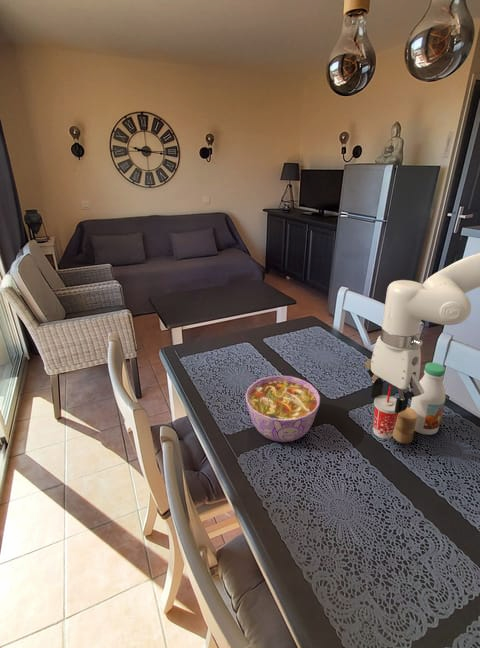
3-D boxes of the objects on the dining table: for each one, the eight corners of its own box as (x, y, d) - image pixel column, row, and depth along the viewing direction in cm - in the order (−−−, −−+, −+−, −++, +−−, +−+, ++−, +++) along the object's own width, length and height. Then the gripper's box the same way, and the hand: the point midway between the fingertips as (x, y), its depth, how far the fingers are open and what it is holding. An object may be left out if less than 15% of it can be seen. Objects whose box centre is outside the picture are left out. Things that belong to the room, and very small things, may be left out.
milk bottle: (409, 435, 98) (422, 373, 90) (404, 417, 105) (416, 357, 97) (440, 439, 96) (456, 376, 88) (433, 420, 103) (447, 360, 95)
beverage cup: (401, 435, 89) (410, 388, 83) (383, 444, 86) (391, 396, 81) (382, 421, 94) (390, 375, 88) (364, 428, 91) (371, 382, 86)
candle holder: (410, 431, 99) (415, 405, 96) (418, 449, 93) (424, 421, 90) (386, 430, 100) (390, 404, 96) (392, 447, 94) (397, 420, 90)
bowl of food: (292, 469, 89) (293, 432, 84) (231, 433, 101) (230, 399, 96) (330, 426, 102) (333, 392, 98) (273, 399, 115) (274, 367, 110)
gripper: (446, 347, 74) (430, 417, 81) (378, 319, 88) (369, 381, 95) (424, 357, 71) (409, 430, 78) (356, 326, 85) (349, 390, 92)
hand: (387, 402), depth 87 cm, fingers closed on beverage cup, 6 cm apart
